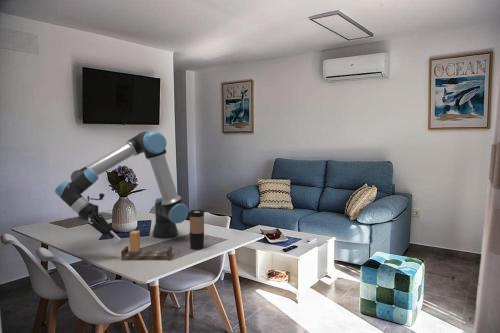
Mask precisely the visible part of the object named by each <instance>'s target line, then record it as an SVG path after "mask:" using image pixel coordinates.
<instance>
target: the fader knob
mask: <svg viewBox="0 0 500 333" xmlns="http://www.w3.org/2000/svg"><path fill="white" fill-rule="evenodd" d="M141 251H142V248H141V231H140V230H132V231H131V232H130V233H129V255H138V254H139V253H140V252H141Z"/></svg>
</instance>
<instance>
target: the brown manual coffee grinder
mask: <svg viewBox="0 0 500 333" xmlns="http://www.w3.org/2000/svg"><path fill="white" fill-rule="evenodd" d="M86 196H87V198H86V200H87V201H89V203H90V204H92V205H93V206H94V207H95V210H94V212H95V213H97V214H98V215H99V205H98V204H93V202H90V200H92V201H102V200H104V197H105V194H104V193H102V192H101V193H99V194H98V196H99V197H98V198H91V197H90V196H89V195H86ZM78 219H79V220H83V221H88V220H87V218H85V219H82V218H81V217H80V216H79V215H78Z"/></svg>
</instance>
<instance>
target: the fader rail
mask: <svg viewBox="0 0 500 333" xmlns="http://www.w3.org/2000/svg"><path fill="white" fill-rule="evenodd" d="M129 251H130V245H126V246H124V247H123V249H122V250H121V251H120V252H121V254H120V255H121V261H170V260H171V258H172V256H173V245H169V247H168V248H167V250H141V252H140V253H139V254H138V255H129Z"/></svg>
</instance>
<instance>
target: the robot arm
mask: <svg viewBox="0 0 500 333" xmlns="http://www.w3.org/2000/svg"><path fill="white" fill-rule="evenodd" d="M142 153H144V156H145V159H146V160H148V161H149V163H150V165H151V166H150V167H151V169H152V171H153V175H154V178H155V180H156V184H157V186H158V190H159V192H160V195H161V197H158V198H156V199H155V203H154V207H155V208H154V210H155V211H154V213H155V217H154V218H155V223H154V227H153V231H152V236H153V237H154V238H158V239H167V238H174V237H177V236H178V235H179V230H178V228H177V224H182V223H183V222H184V221H186V219H187V218H188V215H189V208H188V206H187V205H186V204H184V202H183V199H182V197H181V195H178V193H177V190H176V186H175V184H174V183H175V182H174V179H173V176H172V173H171V171H170V168H169V164H168V162H167V158H166V154H167V153H168V152H167V139H166V137H165V136H164V134H162V133H161V132H158V131H155V130H149V131H142V132H140V133H137V134H136V135H134V136H133V137H131V138H129V139H128V140H127V141H126V142H125V144H123V145H121V146H119V147H118V148H116V149H114V150H112V151H110V152H109V153H107V154H105V155H103V156H102V157H99V158H98V159H96V160H94V161H92V162H90V163H89V164H87V165H85V166H84V167H82V168H80V169H75V170H74V171H72V172H71V173H70V180H71V181H70V182H68V181H67V180H66V181H63V182H62V183H60V184H58V185H57V186H56V187H55V189H54V192H55V194H56V195H57V196H58V197H59V198H60V199H61V201H63V202H64V203H66V205H67V206H68V207H69V208H71V210H72V212H75V213H76V214H77V215H78V217H79V216H80V217H81V218H82V219H85V218H87V220H86V221H87V224H88V225H90V226H91V227H93V228H94V230H96V231H98V232H99V233H101V234H102V235H103V236H104V237H106V236H107V237H108V238H109V239H110V240H111V241H113V242H114V243H115V245H117V244H118V243H120V241H121V240H122V239H121V238H120V237H119V236H118V235H117V234H116V233H115V232H114V231H113V229H114V228H113V227H112V226H111V225H110V224H109V222H108V221H107V220H106V219H105V218H104V217H103V215H102V214H101V213H100V214H99V213H98V214H97V213H95V212H94V210H95V207H94V206H93V205H92V204H93V203H92V204H90V203H91V202H90V200H89V201H88V199H87V198H86V197H85V196H83V195H82V194H83V193H84V192H85V191H87V190H88V189H89V188H90V187H91V186H92V185H94V184H96V182H97V181H98V180H99V178H100V177H99V176H100V175H102V174H103V173H105V172H107V171H109V170H111V169H112V168H114V167H115V166H117V165H119V164H121V163H122V162H124V161H126V160H128V159H129V158H131V157H136V156H139V155H140V154H142ZM82 219H81V220H82Z"/></svg>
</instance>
